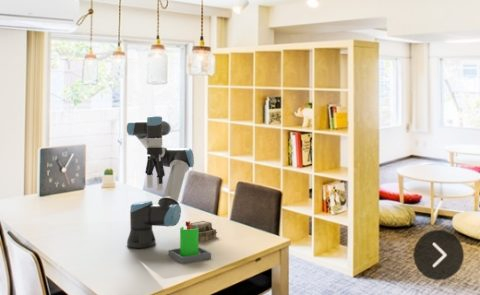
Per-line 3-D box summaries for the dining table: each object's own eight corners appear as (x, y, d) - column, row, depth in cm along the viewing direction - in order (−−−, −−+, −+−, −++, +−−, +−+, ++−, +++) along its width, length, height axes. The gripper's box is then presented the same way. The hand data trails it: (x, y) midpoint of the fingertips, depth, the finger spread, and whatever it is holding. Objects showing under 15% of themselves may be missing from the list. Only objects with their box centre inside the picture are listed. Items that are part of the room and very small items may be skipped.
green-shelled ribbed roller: (198, 253, 210) (198, 219, 210) (197, 258, 202) (197, 222, 202) (181, 253, 210) (181, 219, 210) (179, 258, 202) (179, 222, 202)
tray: (168, 255, 210) (168, 250, 210) (196, 251, 218) (196, 245, 218) (181, 263, 196) (181, 257, 196) (210, 258, 205) (210, 252, 205)
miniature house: (183, 243, 235) (183, 223, 235) (201, 239, 245) (201, 220, 245) (200, 248, 225) (200, 227, 224) (219, 243, 235) (219, 223, 235)
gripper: (139, 146, 214) (139, 187, 214) (156, 147, 193) (156, 192, 193) (152, 146, 218) (152, 186, 219) (171, 147, 197) (171, 191, 198)
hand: (154, 189), depth 206 cm, fingers open, 13 cm apart
